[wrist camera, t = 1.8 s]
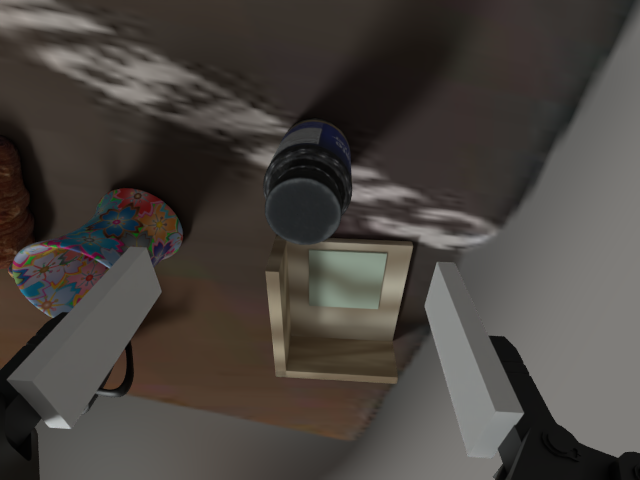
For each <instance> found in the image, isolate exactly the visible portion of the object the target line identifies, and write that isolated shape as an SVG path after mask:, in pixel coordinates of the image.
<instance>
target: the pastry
mask: <svg viewBox="0 0 640 480" xmlns="http://www.w3.org/2000/svg"><path fill="white" fill-rule="evenodd" d="M29 201H30V194H29V192H28V190H27V189H26V188H25V185H24V182H23V174H22V171H21V159H20V154H19V152H18V149H17V148H16V146H15V145H14V144H13V143H12V142H11V141H10V140H9V139H7V138H5V137H3V136H0V269H4V268H8V267H9V266H10V264H11V263H13V261H14V258H15V256H16V255H17V253H18V252H19V251H20V250H22V249H23V248H24V247H26V246H28V245H30V244H33V243H35V235H34V233H33V229H34V226H35V225H34V223H35V221H34V216H33V214H32V213H31V211H30V209H29V207H28V204H29Z"/></svg>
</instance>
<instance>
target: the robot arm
mask: <svg viewBox="0 0 640 480" xmlns="http://www.w3.org/2000/svg"><path fill="white" fill-rule="evenodd" d="M161 292H162V291H161V288H160V285H159V282H158V279H157V276H156V273H155V270H154V268H153V265H152V262H151V259H150V256H149V253H148V250H147V247H129V248H128V249H127V251H126V252H125V253H124V254H123V255H122V256H121V257H120V258H119V259H118V260H117V261H116V262H115V263H114V265H113V266H112V267H111V268H110V269H109V270H108V271H107V272H106V273H105V274H104V275H103V276H102V277H101V278H100V280H99V281H98V282H97V283H96V284H95V285H94V286H93V287H92V288H91V289H90V290H89V291H88V292H87V294H86V295H85V296H84V297H83V298H82V299H81V300H80V301H79V302H78V303H77V304H76V305H75V306H74V308H73V309H72V310H71V311H70V312H62V313H60V314H59V315H57V316H55V317H54V318H52V319H51V320H49V321H48V322H47V323H46V324H45V325H44V326H43V327H42V328H41V329H40V330H39V331H38V332H37V333H36V336H33V337H32V338H31V339H30V340H29V341H28V342H27V343H26V346H23V347H22V348H21V349H20V350H19V351H18V352H17V354H16V355H15V356H14V357H13V358H12V359H11V360H10V361H9V362H8V363H7V364H6V365H5V366H4V367H3V368H2V369H1V370H0V480H40V475H39V453H38V452H39V451H38V434H37V431H36V429H35V428H34V427H35V426H36V425H37V423H38V422H39V421H40V419H42V420H43V421H44V422H45V423H46V424H47V425H48V426H49V427H51V428H66V429H72V428H73V426H74V424H75V423H76V421H77V420H78V418H79V417H80V415H81V414H82V412H83V411H84V409H85V408H86V406H87V405H88V403H89V402H90V400H91V399H92V397H93V396H94V394H95V393H96V391H97V390H98V388H99V387H100V385H101V383H102V382H103V380H104V379H105V377H106V376H107V374H108V373H109V371H110V370H111V368H112V367H113V365H114V364H115V362H116V361H117V359H118V358H119V356H120V355H121V353H122V352H123V350H124V349H125V347H126V346H127V344H128V343H129V341H130V339H131V338H132V336H133V335H134V333H135V332H136V330H137V329H138V327H139V326H140V324H141V323H142V321H143V320H144V318H145V317H146V315H147V314H148V312H149V311H150V309H151V308H152V306H153V305H154V303H155V302H156V300H157V299H158V297H159V295H160V294H161ZM425 309H426V313H427V316H428V320H429V323H430V327H431V330H432V334H433V337H434V341H435V344H436V348H437V351H438V354H439V358H440V362H441V365H442V368H443V372H444V375H445V379H446V382H447V386H448V389H449V393H450V396H451V400H452V403H453V406H454V410H455V414H456V417H457V420H458V424H459V428H460V431H461V435H462V438H463V441H464V445H465V448H466V452H467V455H468V457H481V458H493V456H494V455H495V454H496V452H497V451H499V453H500V456H501V459H502V462H503V464H502V466H501V467H500V468H499V469H498V471H497V472H496V474H495V475H494V476H493V478H495V480H640V453H637V452H625V453H623V454H622V455H621V456H620V457H619V458H616V457H614V456H611V455H609V454H606V453H603V452H600V451H598V450H595V449H593V448H590V447H587V446H585V445H583V444H581V443H579V442H578V441H577V440H576V439H575V437H574V436H573V435H572V434H571V433H570V432H568V431H567V430H566V429H565V428H563V427H562V426H560V425H558V424H557V423H556V422H555V420H554V419H553V417H552V415H551V413H550V412H549V410H548V408H547V406H546V404H545V402H544V400H543V398H542V396H541V395H540V393H539V391H538V389H537V387H536V385H535V383H534V381H533V379H532V377H531V376H529V372H528V370H527V368H526V366H525V365H524V364H523V360H522V358H521V357H520V355H519V353H518V351H517V349H516V348H515V347H514V346H513V345H512V344H511V343H510V342H509V341H508V340H507V339H506V338H505V337H504V336H503V337H502V336H488V334H487V332H486V330H485V327H484V325H483V323H482V321H481V319H480V317H479V314H478V312H477V311H476V308H475V306H474V304H473V302H472V299H471V297H470V295H469V293H468V291H467V288H466V286H465V284H464V282H463V280H462V278H461V275H460V273H459V271H458V269H457V267H456V265H455V263H450V262H437V264H436V268H435V271H434V275H433V278H432V282H431V285H430V289H429V292H428V296H427V299H426V303H425Z"/></svg>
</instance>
